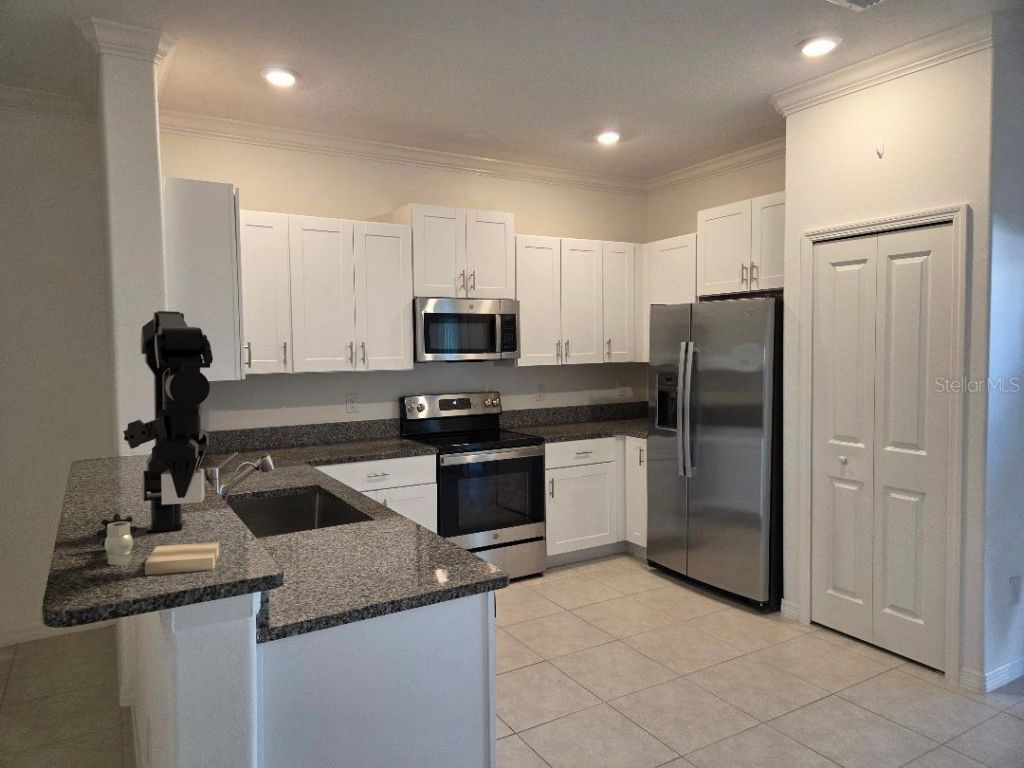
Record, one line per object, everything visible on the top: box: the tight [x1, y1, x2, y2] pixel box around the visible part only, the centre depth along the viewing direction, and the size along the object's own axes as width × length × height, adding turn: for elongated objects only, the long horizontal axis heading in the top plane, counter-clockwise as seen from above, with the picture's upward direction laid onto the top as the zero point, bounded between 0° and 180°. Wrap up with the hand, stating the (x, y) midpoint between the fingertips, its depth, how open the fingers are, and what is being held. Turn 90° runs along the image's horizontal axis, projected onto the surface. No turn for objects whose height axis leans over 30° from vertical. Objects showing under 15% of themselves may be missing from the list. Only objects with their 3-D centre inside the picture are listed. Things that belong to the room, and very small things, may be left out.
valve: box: [95, 512, 139, 566], centre depth 121 cm, size 7×7×12 cm
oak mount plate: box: [144, 541, 220, 576], centre depth 117 cm, size 10×10×2 cm
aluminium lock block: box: [161, 468, 205, 505], centre depth 116 cm, size 4×6×5 cm, turn 107°
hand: (183, 495), depth 116 cm, fingers closed on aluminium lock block, 4 cm apart
